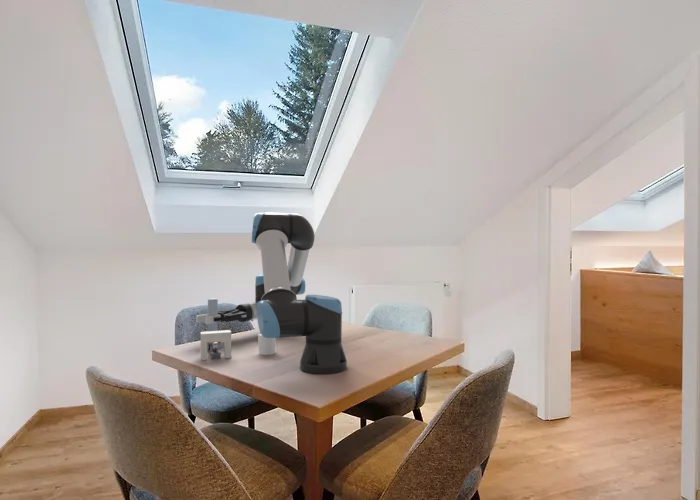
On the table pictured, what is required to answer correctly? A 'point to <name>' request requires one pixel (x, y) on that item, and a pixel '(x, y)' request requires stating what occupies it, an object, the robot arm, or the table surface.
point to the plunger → (215, 345)
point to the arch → (216, 337)
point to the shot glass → (266, 345)
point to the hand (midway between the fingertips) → (201, 319)
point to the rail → (214, 353)
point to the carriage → (212, 312)
